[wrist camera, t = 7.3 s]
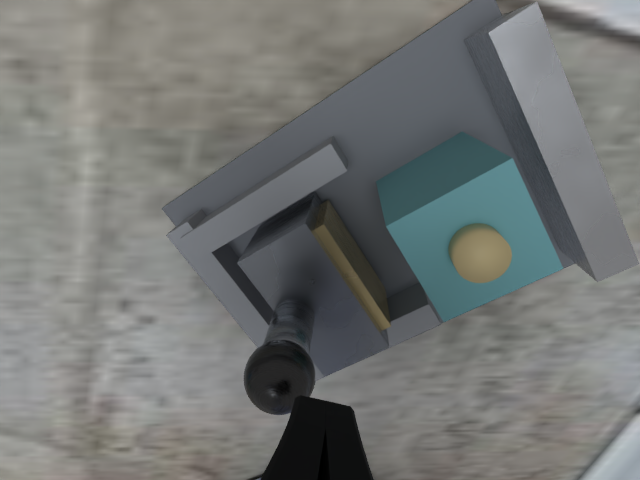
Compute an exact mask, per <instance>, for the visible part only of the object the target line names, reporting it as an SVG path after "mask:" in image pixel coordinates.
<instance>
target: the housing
mask: <svg viewBox="0 0 640 480" xmlns="http://www.w3.org/2000/svg"><path fill="white" fill-rule="evenodd" d="M376 184H377V189H378V193H379V198H380V202H381V207H382V211H383V216H384V220H385V225H386V227H387V229H388V231H389V232H390V234H391V236H392V237H393V239H394V241H395V242H396V244H397V246H398V247H399V249H400V251H401V252H402V254H403V256H404V257H405V259H406V261H407V262H408V264H409V266H410V267H411V269H412V271H413V272H414V274H415V275H416V277H417V279H418V280H419V282H420V284H421V285H422V287H423V289H424V290H425V292H426V294H427V295H428V297H429V299H430V300H431V302H432V304H433V305H434V307H435V309H436V310H437V312H438V314H439V315H440V317H441V319H442V320H443V322H445V321H448V320H450V319H452V318H454V317H457V316H459V315H461V314H463V313H465V312H468V311H470V310H472V309H474V308H477V307H479V306H481V305H483V304H486V303H488V302H490V301H492V300H494V299H497V298H499V297H501V296H503V295H506V294H508V293H510V292H512V291H515V290H517V289H519V288H521V287H523V286H526V285H528V284H530V283H532V282H535V281H537V280H539V279H541V278H544V277H546V276H548V275H550V274H552V273H555V272H557V271H559V270H561V269H563V266H562V264H561V262H560V260H559V258H558V256H557V253H556V251H555V249H554V247H553V245H552V243H551V240H550V238H549V236H548V234H547V232H546V230H545V227H544V225H543V223H542V221H541V219H540V216H539V214H538V212H537V210H536V208H535V206H534V203H533V201H532V199H531V197H530V195H529V193H528V190H527V188H526V186H525V184H524V182H523V180H522V177H521V175H520V173H519V171H518V169H517V166H516V164H515V162H514V160H513V158H512V157H510V156H508V155H506V154H504V153H502V152H500V151H498V150H496V149H495V148H493V147H491V146H489V145H487V144H485V143H483V142H481V141H479V140H478V139H476V138H474V137H472V136H470V135H468V134H466V133H464V132H460V133H459V134H457V135H455V136H454V137H452V138H450V139H448V140H447V141H445V142H443V143H441V144H440V145H438V146H436V147H435V148H433V149H431V150H429V151H428V152H426V153H424V154H422V155H421V156H419V157H417V158H416V159H414V160H412V161H410V162H409V163H407V164H405V165H403V166H402V167H400V168H398V169H396V170H395V171H393V172H391V173H390V174H388V175H386V176H384V177H383V178H381V179H379V180H377V181H376Z"/></svg>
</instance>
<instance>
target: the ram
mask: <svg viewBox="0 0 640 480" xmlns="http://www.w3.org/2000/svg"><path fill="white" fill-rule="evenodd" d="M237 264H238V265H239V266H240V268H241V269H242V270H243V271H244V273H245V274H246V275H247V277H248V278H249V279H250V281H251V282H252V283H253V284H254V286H255V287H256V288H257V290H258V291H259V292H260V294H261V295H262V296H263V297H264V299H265V300H266V301H267V303H268V304H269V305H270V307H271V308H272V309H273V311H274V313H273V316H272V319H271V322H270V325H269V328H268V331H267V334H266V337H265V340H264V343H263V345H262V346H260V347H259V348H258V349H256V350H255V351H254V352H253V354H252V355H251V357H250V358H249V360H248V362H247V364H246V368H245V371H244V386H245V390H246V392H247V395H248V397H249V398H250V400H251V401H252V403H253V404H254V405H255V406H256V407H257V408H259V409H260V410H262V411H264V412H266V413H269V414H273V415H284V414H288V413H291V411H292V407H293V403H294V399H295V397H298V396H300V395H302V396H306V397H310V395H311V393H312V391H313V388H314V384H315V368H314V364H315V365H316V366H317V368H318V369H319V370H320V372H321V373H322V374H323V376H324V377H325V376H327V375H329V374H332V373H334V372H336V371H338V370H341V369H343V368H345V367H347V366H349V365H352V364H354V363H356V362H358V361H361V360H363V359H365V358H367V357H369V356H372V355H374V354H376V353H378V352H381V351H383V350H385V349H387V348H389V341H388V333H387V328H389V327H391V322H390V315H389V309H388V303H387V296H386V290H385V287H384V286H383V284H382V283H381V281H380V279H379V278H378V276H377V275H376V273H375V272H374V270H373V269H372V267H371V265H370V264H369V262H368V261H367V259H366V258H365V256H364V255H363V253H362V251H361V250H360V248H359V247H358V245H357V244H356V242H355V241H354V239H353V237H352V236H351V234H350V233H349V231H348V230H347V228H346V227H345V225H344V224H343V222H342V220H341V219H340V217H339V216H338V214H337V213H336V211H335V210H334V208H333V206H332V205H331V203H330V202H329V200H327V201H325V202H324V203H322V201H321V200H320V198H319V197H318V195H317V194H316V192H314V193H312V194H310V195H309V196H307V197H305V198H304V199H302V200H300V201H299V202H297V203H295V204H294V205H292V206H290V207H289V208H287V209H285V210H284V211H282V212H280V213H279V214H277V215H275V216H274V217H272V218H270V219H269V220H267V221H265V222H264V223H262V224H260V226H259V227H258V229H257V231H256V232H255V234H254V236H253V237H252V239H251V241H250V242H249V244H248V246H247V247H246V249H245V251H244V252H243V254H242V256H241V257H240V259H239V261H238V262H237ZM313 363H314V364H313Z"/></svg>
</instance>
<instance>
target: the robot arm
mask: <svg viewBox="0 0 640 480" xmlns="http://www.w3.org/2000/svg"><path fill="white" fill-rule="evenodd" d="M256 480H374V479H373V477H372V474H371V471H370V468H369V464H368V461H367V458H366V455H365V451H364V448H363V445H362V441H361V438H360V434H359V430H358V426H357V422H356V418H355V414H354V411H353V409H352V408H351V407H350V406H346V405H341V404H337V403H333V402H328V401H324V400H320V399H315V398H311V397H306V396H302V395H300V396H298V397H295V399H294V403H293V407H292V411H291V415H290V418H289V421H288V424H287V426H286V429H285V431H284V433H283V436H282V438H281V440H280V443H279V445H278V447H277V449H276V451H275V453H274V455H273V457H272V458H271V460H270V462H269V464H268V466H267V468H266V470H265V472H264V474H263V476H262V477H261V478H259V479H256Z"/></svg>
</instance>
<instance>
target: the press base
mask: <svg viewBox="0 0 640 480" xmlns="http://www.w3.org/2000/svg"><path fill="white" fill-rule="evenodd" d="M460 132H464V133H466V134H468V135H470V136H472V137H474V138H476V139H478V140H479V141H481V142H483V143H485V144H487V145H489V146H491V147H493V148H495V149H496V150H498V151H500V152H502V153H504V154H506V155H508V156H510V157H512V158H513V160H514V162H515V164H516V166H517V169H518V171H519V173H520V175H521V177H522V180H523V182H524V184H525V186H526V188H527V190H528V193H529V195H530V197H531V199H532V201H533V203H534V206H535V208H536V210H537V212H538V214H539V216H540V219H541V221H542V223H543V225H544V227H545V230H546V232H547V234H548V236H549V238H550V240H551V243H552V245H553V247H554V249H555V251H556V253H557V256H558V258H559V260H560V262H561V264H562V266H563V268H566V267H568V266H570V265H572V264H575V263H576V264H577V265H578V266H579V267H580V268H582V269H583V270H584V271H585V272H586V273H587V274H589V275H590V276H591V277H592V278H593V279H594V280H596V281H597V282H598V281H601V280H603V279H605V278H608V277H610V276H612V275H614V274H617V273H619V272H621V271H624V270H626V269H628V268H631V267H633V266H635V265H638V264H639V262H638V260H637V257H636V255H635V252H634V250H633V247H632V244H631V242H630V239H629V237H628V234H627V232H626V229H625V227H624V224H623V221H622V219H621V216H620V214H619V211H618V209H617V206H616V203H615V201H614V198H613V196H612V193H611V191H610V188H609V185H608V183H607V180H606V178H605V175H604V173H603V170H602V167H601V165H600V162H599V160H598V157H597V155H596V152H595V149H594V147H593V144H592V142H591V139H590V137H589V134H588V131H587V129H586V126H585V124H584V121H583V119H582V116H581V113H580V111H579V108H578V106H577V103H576V101H575V98H574V95H573V93H572V90H571V88H570V85H569V83H568V80H567V77H566V75H565V72H564V70H563V67H562V65H561V62H560V60H559V57H558V54H557V52H556V49H555V47H554V44H553V42H552V39H551V36H550V34H549V31H548V29H547V26H546V24H545V21H544V18H543V16H542V13H541V11H540V8H539V6H538V3H537V2H535V3H532V4H530V5H527V6H524V7H522V8H519V9H517V10H514V11H511V12H509V13H506V14H504V15H501V12H500V10H499V7H498V5H497V3H496V0H472V1H471V2H469V3H468V4H466V5H465V6H463V7H462V8H460V9H459V10H457V11H456V12H454V13H453V14H451V15H450V16H448V17H447V18H445V19H444V20H442V21H441V22H439V23H438V24H436V25H435V26H433V27H432V28H430V29H429V30H427V31H426V32H424V33H423V34H421V35H420V36H418V37H417V38H416V39H414V40H413V41H411V42H410V43H408V44H407V45H405V46H404V47H402V48H401V49H399V50H398V51H396V52H395V53H393V54H392V55H390V56H389V57H387V58H386V59H384V60H383V61H381V62H380V63H378V64H377V65H375V66H374V67H372V68H371V69H369V70H368V71H366V72H365V73H363V74H362V75H360V76H359V77H357V78H356V79H354V80H353V81H351V82H350V83H348V84H347V85H345V86H344V87H342V88H341V89H339V90H338V91H336V92H335V93H333V94H332V95H330V96H329V97H327V98H326V99H324V100H323V101H321V102H320V103H318V104H317V105H315V106H314V107H312V108H311V109H309V110H308V111H306V112H305V113H303V114H302V115H300V116H299V117H297V118H296V119H294V120H293V121H291V122H290V123H288V124H287V125H285V126H284V127H282V128H281V129H279V130H278V131H276V132H275V133H273V134H272V135H270V136H269V137H267V138H266V139H264V140H263V141H262V142H260V143H259V144H257V145H256V146H254V147H253V148H251V149H250V150H248V151H247V152H245V153H244V154H242V155H241V156H239V157H238V158H236V159H235V160H233V161H232V162H230V163H229V164H227V165H226V166H224V167H223V168H221V169H220V170H218V171H217V172H215V173H214V174H212V175H211V176H209V177H208V178H206V179H205V180H203V181H202V182H200V183H199V184H197V185H196V186H194V187H193V188H191V189H190V190H188V191H187V192H185V193H184V194H182V195H181V196H179V197H178V198H176V199H175V200H173V201H172V202H170V203H169V204H167V205H166V206H164V207H163V208H162V210H163V211H164V212H165V213H166V215H167V216H168V217H169V218H170V220H171V221H172V222H173V223H174V225H175V226H176V227H175V228H174V229H173V230H172V231H170V232H169V233H168V234H167V235H166V236H167V237H168V238H169V239H170V240H171V242H172V243H173V244H174V245H175V247H176V248H177V249H178V250H179V252H180V253H181V254H182V255H183V256H184V258H185V259H186V260H187V261H188V263H189V264H190V265H191V266H192V268H193V269H194V270H195V271H196V272H197V274H198V275H199V276H200V277H201V279H202V280H203V281H204V282H205V283H206V285H207V286H208V287H209V288H210V290H211V291H212V292H213V293H214V295H215V296H216V297H217V298H218V299H219V301H220V302H221V303H222V304H223V306H224V307H225V308H226V309H227V311H228V312H229V313H230V314H231V315H232V317H233V318H234V319H235V320H236V322H237V323H238V324H239V325H240V327H241V328H242V329H243V330H244V331H245V333H246V334H247V335H248V336H249V338H250V339H251V340H252V341H253V342H254V344H255V345H256V346H257V347H258V348H259V347H260V346H262V345H263V343H264V340H265V337H266V334H267V331H268V328H269V325H270V322H271V319H272V316H273V313H274V311H273V309H272V308H271V307H270V305H269V304H268V303H267V301H266V300H265V299H264V297H263V296H262V295H261V294H260V292H259V291H258V290H257V288H256V287H255V286H254V284H253V283H252V282H251V281H250V279H249V278H248V277H247V275H246V274H245V273H244V271H243V270H242V269H241V268H240V266H239V265H238V264H237V262H238V261H239V259H240V257H241V256H242V254H243V252H244V251H245V249H246V247H247V246H248V244H249V242H250V241H251V239H252V237H253V236H254V234H255V232H256V231H257V229H258V227H259V226H260V224H262V223H264V222H265V221H267V220H269V219H270V218H272V217H274V216H275V215H277V214H279V213H280V212H282V211H284V210H285V209H287V208H289V207H290V206H292V205H294V204H295V203H297V202H299V201H300V200H302V199H304V198H305V197H307V196H309V195H310V194H312V193H314V192H316V194H317V195H318V197H319V198H320V200H321V201H322V203H324V202H325V201H327V200H329V202H330V203H331V205H332V206H333V208H334V210H335V211H336V213H337V214H338V216H339V217H340V219H341V220H342V222H343V224H344V225H345V227H346V228H347V230H348V231H349V233H350V234H351V236H352V237H353V239H354V241H355V242H356V244H357V245H358V247H359V248H360V250H361V251H362V253H363V255H364V256H365V258H366V259H367V261H368V262H369V264H370V265H371V267H372V269H373V270H374V272H375V273H376V275H377V276H378V278H379V279H380V281H381V283H382V284H383V286H384V287H385V290H386V296H387V303H388V309H389V315H390V322H391V327H389V328H387V333H388V341H389V348H390V347H392V346H394V345H396V344H399V343H401V342H403V341H405V340H408V339H410V338H412V337H414V336H417V335H419V334H421V333H423V332H425V331H428V330H430V329H432V328H434V327H437V326H439V325H441V323H443V320H442V319H441V317H440V315H439V314H438V312H437V310H436V309H435V307H434V305H433V304H432V302H431V300H430V299H429V297H428V295H427V294H426V292H425V290H424V289H423V287H422V285H421V284H420V282H419V280H418V279H417V277H416V275H415V274H414V272H413V271H412V269H411V267H410V266H409V264H408V262H407V261H406V259H405V257H404V256H403V254H402V252H401V251H400V249H399V247H398V246H397V244H396V242H395V241H394V239H393V237H392V236H391V234H390V232H389V231H388V229H387V227H386V225H385V220H384V216H383V211H382V207H381V202H380V198H379V193H378V189H377V184H376V181H377V180H379V179H381V178H383V177H384V176H386V175H388V174H390V173H391V172H393V171H395V170H396V169H398V168H400V167H402V166H403V165H405V164H407V163H409V162H410V161H412V160H414V159H416V158H417V157H419V156H421V155H422V154H424V153H426V152H428V151H429V150H431V149H433V148H435V147H436V146H438V145H440V144H441V143H443V142H445V141H447V140H448V139H450V138H452V137H454V136H455V135H457V134H459V133H460ZM494 300H495V299H494ZM474 309H475V308H474ZM465 313H466V312H465ZM454 318H455V317H454ZM445 322H446V321H445ZM387 349H388V348H387ZM378 353H379V352H378ZM369 357H370V356H369ZM367 358H368V357H367ZM358 362H359V361H358ZM313 364H314V363H313ZM349 366H350V365H349ZM347 367H348V366H347ZM314 368H315V381H316V380H319V379H321V378H323V377H324V376H323V374H322V373H321V372H320V370H319V369H318V368H317V366H316V365H315V364H314ZM338 371H339V370H338ZM329 375H330V374H329ZM314 385H315V384H314Z"/></svg>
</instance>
